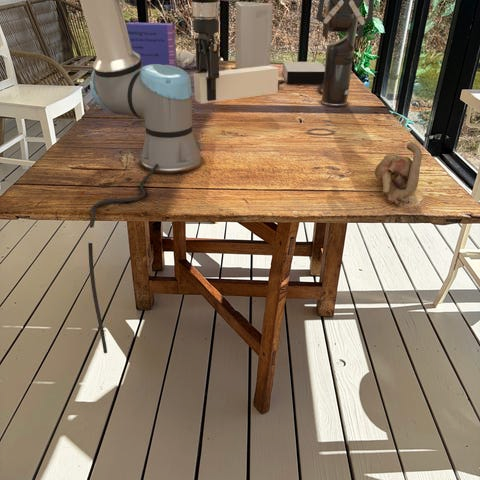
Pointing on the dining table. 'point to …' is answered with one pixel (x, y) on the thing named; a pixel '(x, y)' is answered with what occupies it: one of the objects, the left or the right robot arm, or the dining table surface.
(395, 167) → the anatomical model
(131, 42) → the cereal box
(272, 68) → the bar
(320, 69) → the disc drive
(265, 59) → the white tapered box
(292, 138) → the dining table surface
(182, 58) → the toy
